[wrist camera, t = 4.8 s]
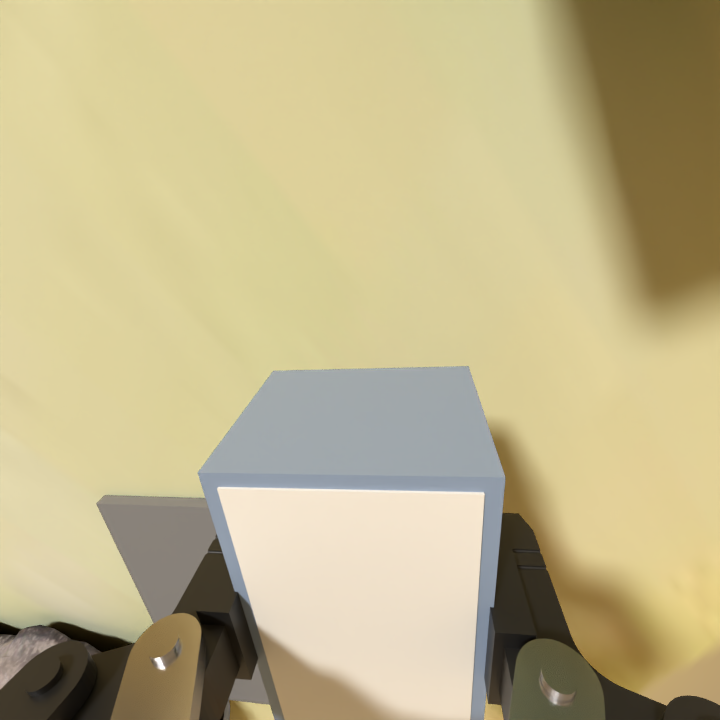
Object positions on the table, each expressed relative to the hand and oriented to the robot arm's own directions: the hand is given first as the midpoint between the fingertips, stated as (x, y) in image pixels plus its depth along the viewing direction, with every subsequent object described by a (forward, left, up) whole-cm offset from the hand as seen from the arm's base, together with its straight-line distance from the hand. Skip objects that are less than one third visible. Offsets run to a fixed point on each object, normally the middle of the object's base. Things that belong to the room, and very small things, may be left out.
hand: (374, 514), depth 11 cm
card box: (0, 0, -1) cm, 1 cm away
